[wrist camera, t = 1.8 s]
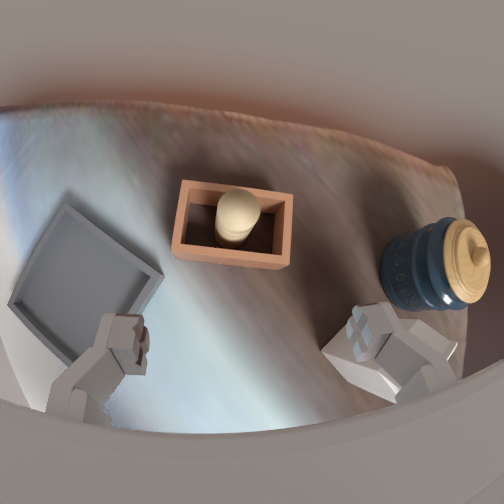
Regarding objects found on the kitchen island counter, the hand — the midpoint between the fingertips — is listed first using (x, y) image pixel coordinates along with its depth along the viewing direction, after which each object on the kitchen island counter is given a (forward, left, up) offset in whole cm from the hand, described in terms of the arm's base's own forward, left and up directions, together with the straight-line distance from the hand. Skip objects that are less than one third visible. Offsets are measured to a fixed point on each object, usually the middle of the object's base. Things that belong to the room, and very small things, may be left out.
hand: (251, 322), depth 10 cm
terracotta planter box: (+10, +4, -27) cm, 29 cm away
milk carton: (+5, -20, -28) cm, 34 cm away
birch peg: (+10, +4, -27) cm, 29 cm away
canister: (+21, -24, -28) cm, 42 cm away
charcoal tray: (-9, +17, -27) cm, 34 cm away
